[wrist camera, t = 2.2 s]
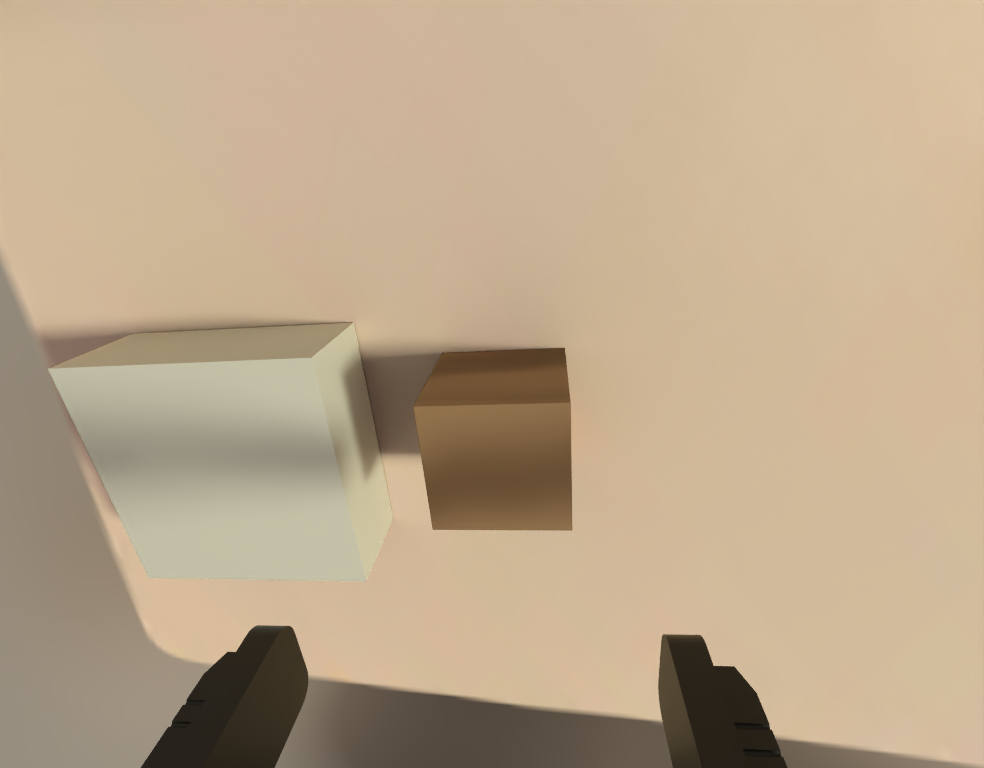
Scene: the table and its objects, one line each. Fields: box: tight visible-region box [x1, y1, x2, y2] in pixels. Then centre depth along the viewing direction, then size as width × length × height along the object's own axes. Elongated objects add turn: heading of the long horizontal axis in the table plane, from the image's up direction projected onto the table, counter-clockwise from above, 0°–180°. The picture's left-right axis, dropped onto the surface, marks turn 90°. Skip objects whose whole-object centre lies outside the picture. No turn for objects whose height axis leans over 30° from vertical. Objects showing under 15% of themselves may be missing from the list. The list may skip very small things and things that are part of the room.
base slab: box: [48, 322, 393, 582], centre depth 21 cm, size 10×10×4 cm
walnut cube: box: [413, 348, 572, 530], centre depth 19 cm, size 5×5×5 cm
